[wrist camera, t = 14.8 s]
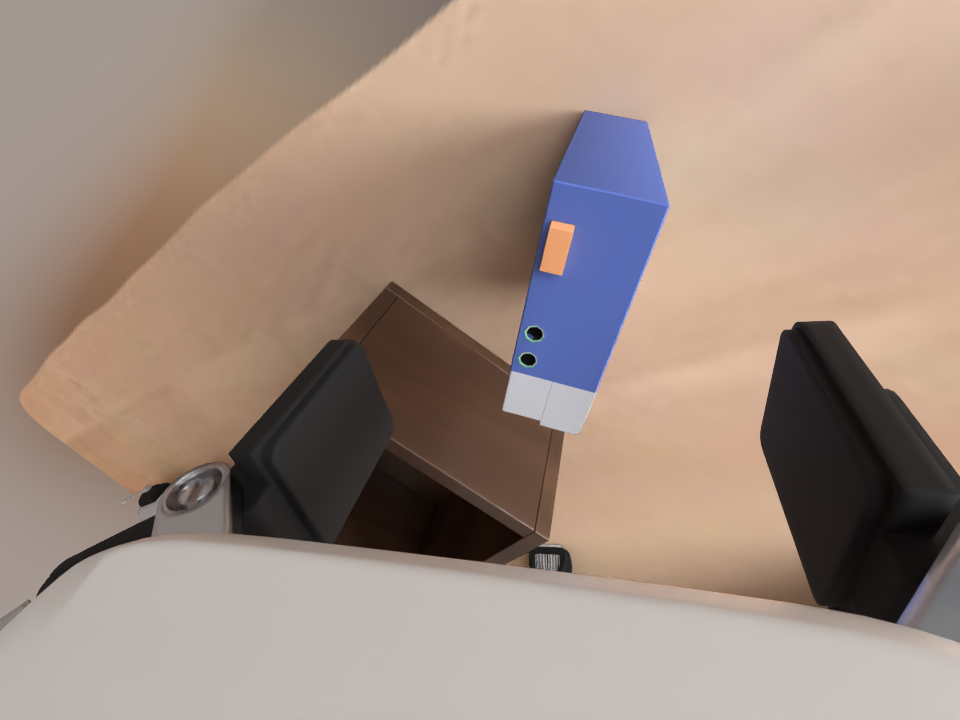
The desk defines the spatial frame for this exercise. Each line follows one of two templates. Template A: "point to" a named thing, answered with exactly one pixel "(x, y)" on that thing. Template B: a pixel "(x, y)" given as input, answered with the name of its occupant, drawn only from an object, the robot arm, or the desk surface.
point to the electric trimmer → (550, 558)
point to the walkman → (586, 268)
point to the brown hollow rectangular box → (449, 445)
